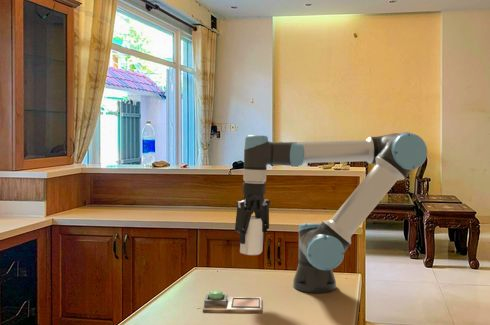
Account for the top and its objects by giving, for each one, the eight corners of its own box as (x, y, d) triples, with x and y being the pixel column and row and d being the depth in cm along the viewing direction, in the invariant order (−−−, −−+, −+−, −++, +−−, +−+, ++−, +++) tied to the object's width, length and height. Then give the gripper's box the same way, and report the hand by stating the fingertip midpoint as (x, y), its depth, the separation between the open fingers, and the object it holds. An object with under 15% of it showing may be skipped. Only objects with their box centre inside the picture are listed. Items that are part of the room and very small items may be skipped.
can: (263, 255, 166) (265, 218, 165) (244, 255, 164) (245, 218, 164) (258, 251, 172) (259, 215, 171) (239, 251, 170) (240, 215, 170)
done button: (223, 296, 164) (223, 290, 164) (222, 301, 160) (222, 294, 160) (209, 296, 164) (209, 290, 164) (208, 300, 160) (208, 294, 160)
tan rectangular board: (261, 299, 168) (261, 291, 168) (261, 313, 155) (261, 304, 155) (207, 298, 169) (207, 291, 169) (202, 312, 156) (202, 303, 156)
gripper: (266, 180, 177) (263, 246, 178) (224, 182, 163) (221, 253, 164) (282, 182, 171) (279, 250, 172) (241, 184, 158) (238, 258, 158)
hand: (251, 251), depth 168 cm, fingers closed on can, 6 cm apart
